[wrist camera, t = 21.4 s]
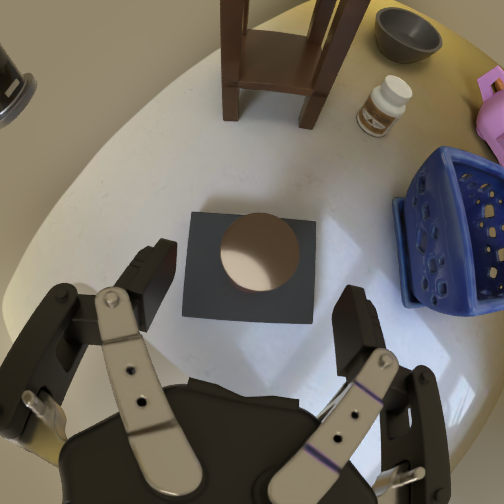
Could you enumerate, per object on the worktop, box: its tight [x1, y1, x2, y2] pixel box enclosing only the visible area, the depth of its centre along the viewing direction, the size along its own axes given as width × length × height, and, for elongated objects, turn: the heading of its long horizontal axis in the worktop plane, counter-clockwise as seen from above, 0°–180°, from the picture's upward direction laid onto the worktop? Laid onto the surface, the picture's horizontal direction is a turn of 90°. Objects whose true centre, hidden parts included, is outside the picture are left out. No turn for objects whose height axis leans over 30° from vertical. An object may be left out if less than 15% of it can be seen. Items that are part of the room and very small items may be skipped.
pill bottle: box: [357, 75, 412, 137], centre depth 25 cm, size 4×4×8 cm
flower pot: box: [392, 146, 504, 317], centre depth 21 cm, size 13×13×12 cm
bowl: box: [375, 7, 442, 63], centre depth 31 cm, size 12×22×6 cm, turn 138°
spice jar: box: [220, 213, 300, 294], centre depth 19 cm, size 4×4×8 cm
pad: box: [182, 212, 316, 324], centre depth 24 cm, size 11×9×2 cm
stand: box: [220, 0, 371, 130], centre depth 19 cm, size 10×10×20 cm
